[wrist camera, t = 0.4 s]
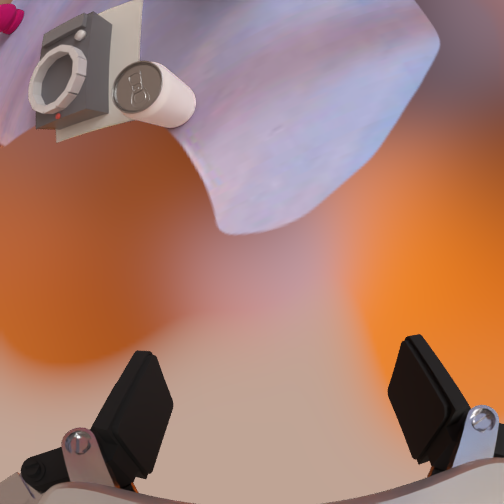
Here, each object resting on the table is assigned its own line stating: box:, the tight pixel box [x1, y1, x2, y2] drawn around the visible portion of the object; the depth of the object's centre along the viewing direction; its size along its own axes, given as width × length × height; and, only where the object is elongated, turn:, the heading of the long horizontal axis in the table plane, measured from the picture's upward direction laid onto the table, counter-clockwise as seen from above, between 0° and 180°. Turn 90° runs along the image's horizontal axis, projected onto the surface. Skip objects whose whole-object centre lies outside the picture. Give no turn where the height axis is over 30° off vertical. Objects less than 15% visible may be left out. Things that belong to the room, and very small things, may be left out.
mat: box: [56, 0, 143, 143], centre depth 30 cm, size 22×16×1 cm
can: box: [111, 61, 196, 128], centre depth 27 cm, size 6×6×12 cm
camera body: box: [28, 12, 112, 130], centre depth 26 cm, size 16×10×8 cm, turn 4°
